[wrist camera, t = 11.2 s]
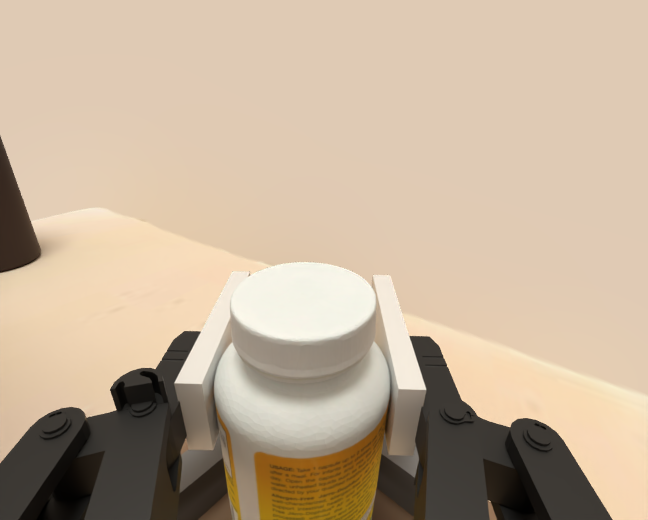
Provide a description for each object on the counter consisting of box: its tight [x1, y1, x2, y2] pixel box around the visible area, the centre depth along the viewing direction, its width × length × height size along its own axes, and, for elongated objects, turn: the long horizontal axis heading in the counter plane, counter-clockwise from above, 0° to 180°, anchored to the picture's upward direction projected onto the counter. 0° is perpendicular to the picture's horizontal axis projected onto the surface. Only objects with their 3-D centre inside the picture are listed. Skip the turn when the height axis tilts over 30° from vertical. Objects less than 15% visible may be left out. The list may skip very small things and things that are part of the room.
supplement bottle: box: [214, 262, 390, 520], centre depth 12 cm, size 5×5×10 cm
